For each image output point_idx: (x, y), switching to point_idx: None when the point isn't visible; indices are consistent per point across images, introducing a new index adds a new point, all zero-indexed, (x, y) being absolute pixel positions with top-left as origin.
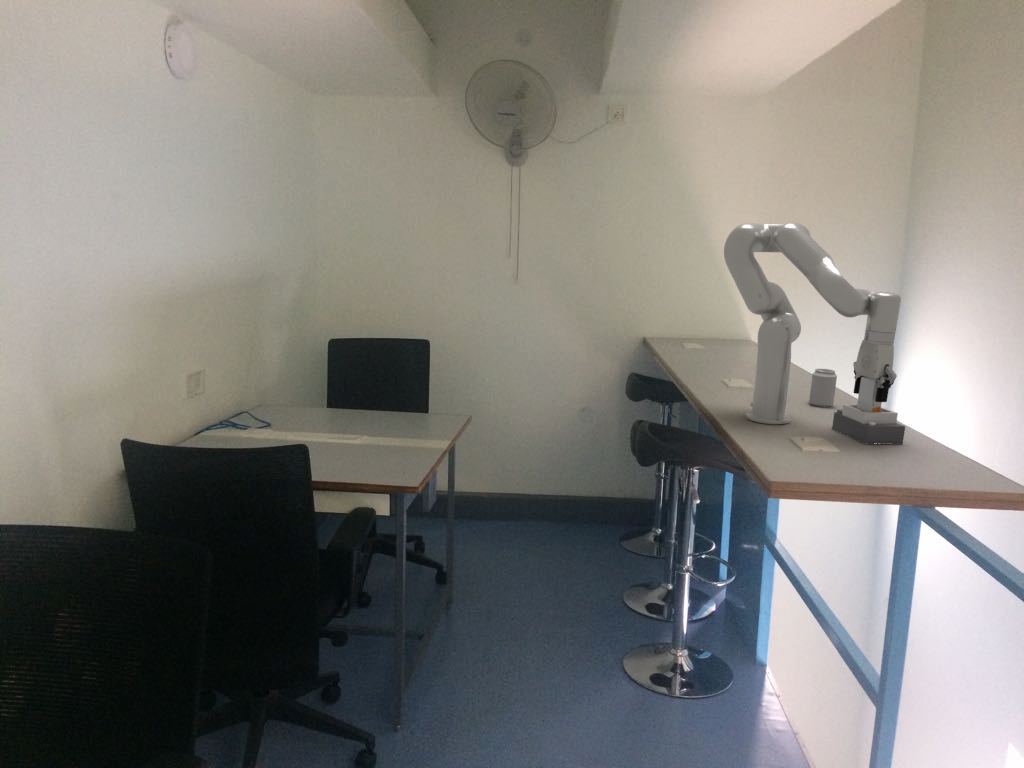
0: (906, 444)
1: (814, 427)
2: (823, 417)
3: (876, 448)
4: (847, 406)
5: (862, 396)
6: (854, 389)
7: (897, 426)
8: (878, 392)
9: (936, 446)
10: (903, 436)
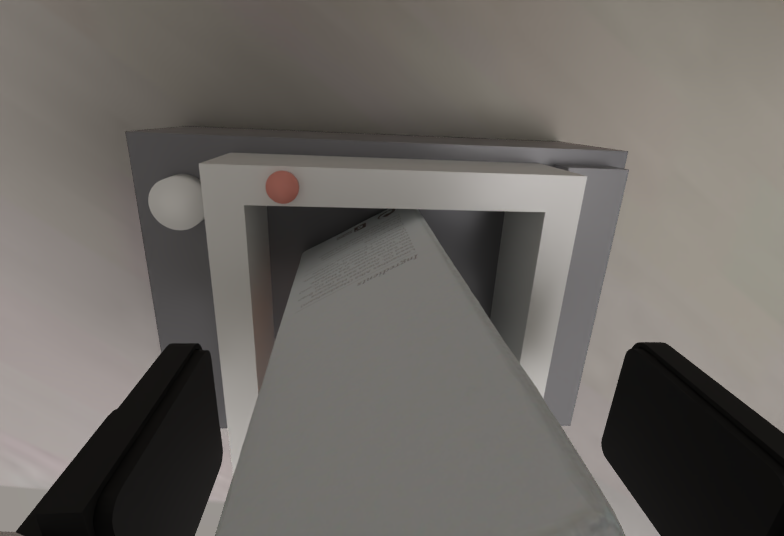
0: None
1: (619, 30)
2: (779, 260)
3: (96, 135)
4: (512, 172)
5: (396, 291)
6: (682, 365)
7: None
8: (103, 444)
9: None
10: None
